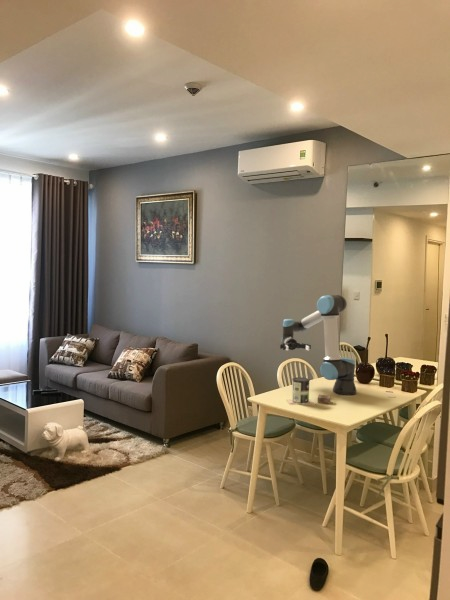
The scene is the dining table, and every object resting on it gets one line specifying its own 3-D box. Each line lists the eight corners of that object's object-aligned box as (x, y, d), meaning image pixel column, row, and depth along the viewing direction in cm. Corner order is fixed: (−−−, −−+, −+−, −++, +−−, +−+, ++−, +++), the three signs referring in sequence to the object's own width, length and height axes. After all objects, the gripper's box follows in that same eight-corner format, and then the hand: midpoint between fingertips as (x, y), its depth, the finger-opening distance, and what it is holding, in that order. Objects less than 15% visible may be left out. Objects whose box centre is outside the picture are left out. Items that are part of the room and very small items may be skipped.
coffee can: (309, 400, 297) (309, 377, 296) (308, 405, 287) (309, 381, 286) (292, 399, 299) (293, 376, 298) (291, 403, 289) (291, 380, 288)
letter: (310, 400, 299) (310, 399, 299) (315, 405, 288) (315, 404, 288) (285, 400, 298) (285, 399, 298) (289, 405, 287) (289, 404, 287)
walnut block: (330, 402, 297) (330, 395, 296) (329, 405, 290) (329, 398, 290) (318, 401, 299) (319, 394, 298) (317, 404, 292) (317, 397, 292)
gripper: (273, 337, 329) (279, 342, 308) (309, 338, 331) (317, 343, 310) (272, 348, 329) (278, 354, 308) (308, 349, 331) (317, 354, 310)
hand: (298, 348), depth 309 cm, fingers open, 13 cm apart
